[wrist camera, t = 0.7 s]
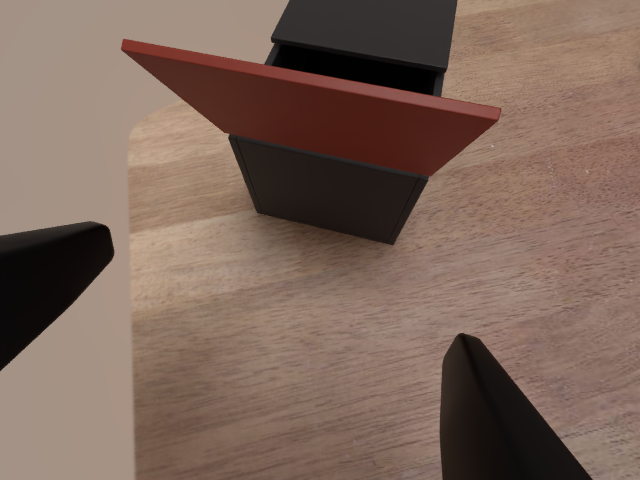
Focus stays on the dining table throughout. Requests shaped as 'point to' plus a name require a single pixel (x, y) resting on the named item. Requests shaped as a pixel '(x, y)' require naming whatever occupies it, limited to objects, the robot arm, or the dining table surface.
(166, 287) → the dining table surface
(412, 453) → the dining table surface
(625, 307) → the dining table surface
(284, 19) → the black flip box
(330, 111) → the lid
